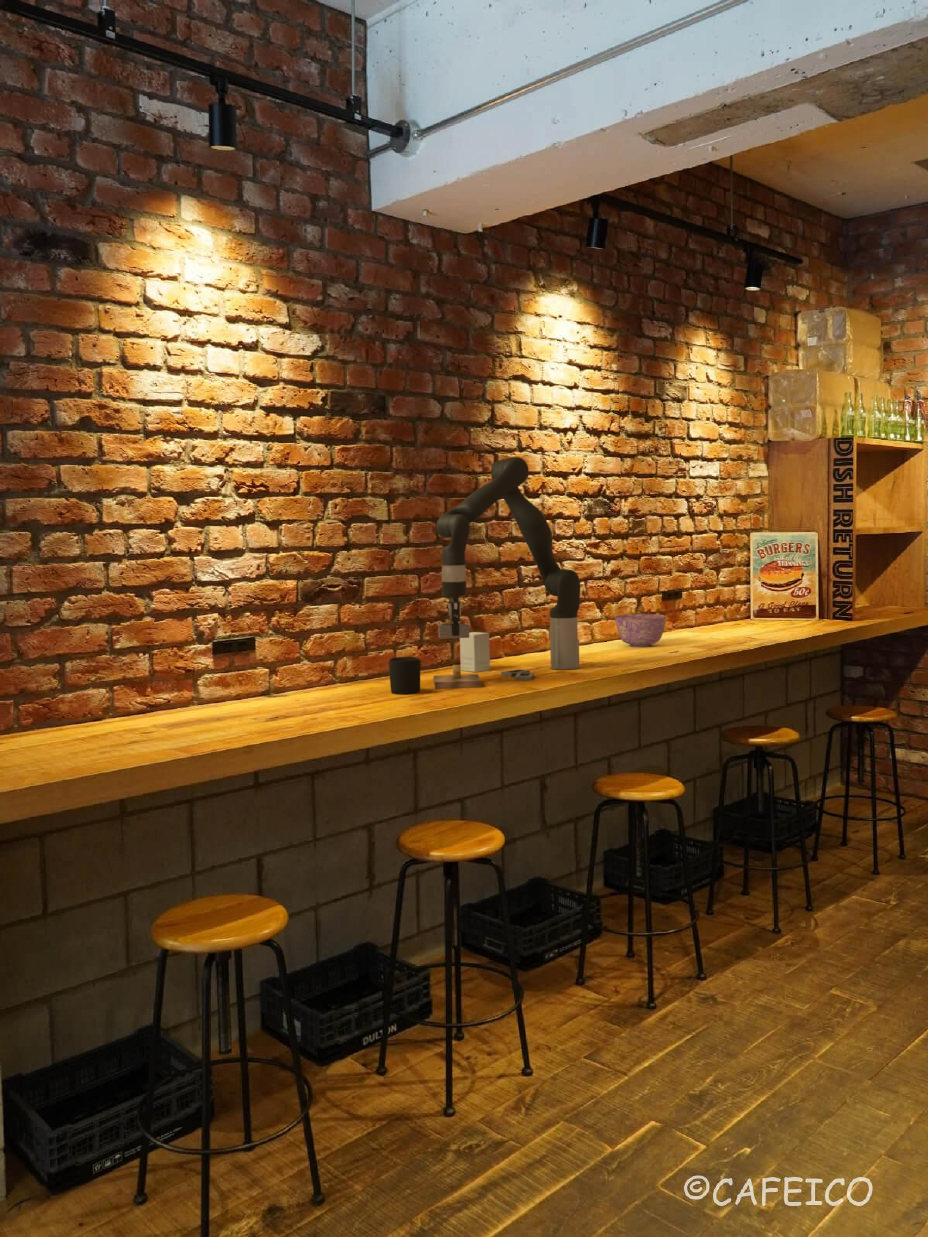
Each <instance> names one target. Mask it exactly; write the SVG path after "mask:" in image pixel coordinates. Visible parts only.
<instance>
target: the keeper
mask: <svg viewBox="0 0 928 1237" xmlns="http://www.w3.org/2000/svg"><path fill="white" fill-rule="evenodd" d="M432 677H433V686H434V689H435V690H438V689H439V690H441V689H443V690H444V689H445V690H446V689H470V688H471V689H472V688H473V689H474V688H475V689H476V688H482V686H483V683H482V679H481V678H480V676H479V674H478V673H474V674H473V673H472V674H471V673H470V674H462V671H461V664H453V665H452V674H444V675H442V674H441V675H433V676H432Z"/></svg>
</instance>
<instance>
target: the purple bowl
mask: <svg viewBox="0 0 928 1237" xmlns="http://www.w3.org/2000/svg"><path fill="white" fill-rule="evenodd" d="M614 620H615V624H616V629H617V632H618V635H619V638H620V639H621V641H622V642H623V643H624V644H627V645H629V646H630V647H631V648H632V647H633V648H647V647H648V648H649V647H652V645H654V644H656V643H658V642H659V641H660V640H661V638H662V637H663V633H664V630H665V626H666V620H667V616H666V615H663V614H651V613H650V614H647V613H642V614H641V613H640V614H639V613H637V614H634V613H633V614H621V615H615V616H614Z"/></svg>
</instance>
